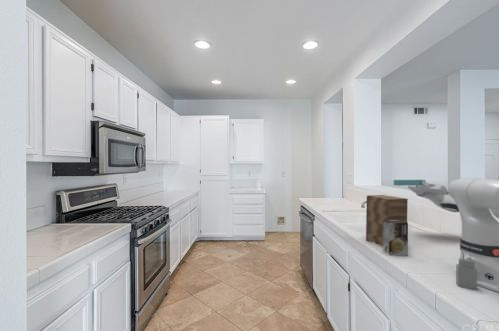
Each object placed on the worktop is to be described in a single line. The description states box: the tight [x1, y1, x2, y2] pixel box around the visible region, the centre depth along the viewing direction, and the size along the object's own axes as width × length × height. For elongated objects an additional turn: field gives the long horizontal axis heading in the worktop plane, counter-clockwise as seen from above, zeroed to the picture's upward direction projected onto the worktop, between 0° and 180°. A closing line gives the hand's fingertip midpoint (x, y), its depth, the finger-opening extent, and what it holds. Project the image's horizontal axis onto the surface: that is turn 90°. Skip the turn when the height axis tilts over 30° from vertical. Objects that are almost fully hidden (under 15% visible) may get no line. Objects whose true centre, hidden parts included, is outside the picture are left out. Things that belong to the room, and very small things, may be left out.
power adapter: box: [455, 253, 478, 291], centre depth 89 cm, size 3×5×12 cm, turn 62°
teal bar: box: [393, 179, 426, 187], centre depth 142 cm, size 3×21×3 cm, turn 108°
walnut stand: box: [365, 194, 409, 247], centre depth 136 cm, size 16×12×26 cm
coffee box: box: [382, 220, 409, 257], centre depth 122 cm, size 9×6×16 cm
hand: (418, 181), depth 144 cm, fingers closed on teal bar, 3 cm apart
